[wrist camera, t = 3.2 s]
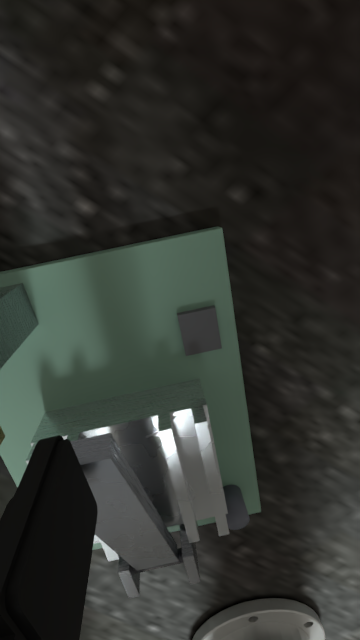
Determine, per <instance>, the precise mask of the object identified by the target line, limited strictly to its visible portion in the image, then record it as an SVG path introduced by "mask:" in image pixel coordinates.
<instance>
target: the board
mask: <svg viewBox="0 0 360 640" xmlns="http://www.w3.org/2000/svg"><path fill="white" fill-rule="evenodd" d="M20 283H23V285H24V287H25V290H26V292H27V295H28V297H29V300H30V303H31V305H32V308H33V310H34V313H35V315H36V318H37V320H38V323H39V324H38V326H37V327H36V328H35V329H34V330H33V331H32V333H31V334H30V335H29V336H28V337H27V338H26V340H25V341H24V342H23V343H22V344H21V346H20V347H19V348H18V349H17V350H16V351H15V353H14V354H13V355H12V356H11V357H10V358H9V360H8V361H7V362H6V363H5V364H4V366H3V367H2V368H1V369H0V426H1V428H2V430H3V432H4V434H5V438H4V440H3V441H2V443H1V445H0V455H1V457H2V459H3V461H4V463H5V465H6V466H7V468H8V470H9V472H10V474H11V476H12V478H13V480H14V482H15V483H16V485H17V487H18V486H19V484H20V481H21V479H22V477H23V474H24V472H25V470H26V467H27V463H26V459H27V457H28V455H29V453H30V451H31V448H32V446H31V444H30V443H31V441H32V439H33V437H34V434H35V432H36V430H37V428H38V426H39V424H40V422H41V420H42V418H43V416H44V413H45V412H47V411H52V410H56V409H61V408H65V407H70V406H75V405H79V404H84V403H88V402H93V401H98V400H102V399H107V398H111V397H116V396H120V395H125V394H130V393H134V392H139V391H143V390H148V389H153V388H157V387H162V386H166V385H171V384H176V383H180V382H185V381H189V380H194V379H198V378H199V379H200V382H201V386H202V389H203V393H204V397H205V400H206V404H207V408H208V414H209V419H210V424H211V429H212V434H213V439H214V444H215V449H216V455H217V460H218V465H219V470H220V475H221V480H222V485H223V490H224V496H225V501H226V506H227V511H228V514H226V519H227V524H228V528H229V529H232V530H237V529H241V528H243V527H245V526H246V525H247V524H248V523H249V520H250V518H249V515H250V514H254V513H258V512H261V505H260V498H259V491H258V484H257V476H256V469H255V462H254V454H253V447H252V440H251V433H250V425H249V418H248V411H247V404H246V396H245V389H244V382H243V375H242V367H241V360H240V353H239V345H238V338H237V331H236V324H235V316H234V309H233V302H232V295H231V287H230V280H229V273H228V266H227V258H226V251H225V244H224V236H223V229H222V228H221V227H219V226H216V227H212V228H207V229H202V230H197V231H193V232H188V233H183V234H178V235H174V236H169V237H164V238H159V239H155V240H150V241H145V242H140V243H136V244H131V245H126V246H121V247H117V248H112V249H107V250H102V251H98V252H93V253H88V254H83V255H79V256H74V257H69V258H64V259H60V260H55V261H50V262H45V263H40V264H36V265H31V266H26V267H21V268H17V269H12V270H7V271H2V272H0V288H1V287H6V286H11V285H15V284H20ZM214 522H216V520H215V517H210V518H206V519H202V520H197V525H198V526H201V525H205V524H210V523H214ZM167 529H168V530H169V532H174V531H179V530H180V526H179V525H175V526H171V527H167ZM99 548H103V547H102V545H101V543H95V544H93V549H92V550H94V549H99Z"/></svg>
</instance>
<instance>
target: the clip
mask: <svg viewBox="0 0 360 640" xmlns="http://www.w3.org/2000/svg"><path fill="white" fill-rule="evenodd" d="M4 438H5V434H4V432H3V430H2V428H1V426H0V445H1V443H2V441H3V440H4Z"/></svg>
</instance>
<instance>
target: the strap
mask: <svg viewBox="0 0 360 640" xmlns="http://www.w3.org/2000/svg"><path fill="white" fill-rule="evenodd" d="M71 444H72V447H73V449H74V451H75V454H76V456H77V458H78V461H79V463H80V465H81V468H82V470H83V472H84V475H85V477H86V479H87V482H88V484H89V486H90V489H91V491H92V493H93V496H94V498H95V500H96V503H97V510H98V514H97V522H96V529H95V535H96V536H97V537H98V538H99V539H101V540H102V541H103V542H104V543H105V544H106V545H108V546H109V547H110V548H111V549H112V550H113V551H115V552H116V553H117V554H118V555H119V556H120V557H122V558H123V559H124V560H125V561H126V562H127V563H129V564H130V565H131V566H132V567H133V568H134V569H136V570H137V571H138V570H142V569H146V568H151V567H155V566H160V565H164V564H168V563H173V562H177V561H179V558H178V550H177V544H176V542H175V541H174V539H173V537H172V536H171V534H170V532H169V530H168V529H167V527H166V525H165V524H164V522H163V520H162V519H161V517H160V515H159V514H158V512H157V510H156V508H155V507H154V505H153V503H152V502H151V500H150V498H149V497H148V495H147V493H146V492H145V490H144V488H143V487H142V485H141V483H140V481H139V480H138V478H137V476H136V475H135V473H134V471H133V470H132V468H131V466H130V465H129V463H128V461H127V460H126V458H125V456H124V454H123V453H122V451H121V449H120V448H119V446H118V444H117V443H116V441H115V439H114V438H113V436H112V434H111V433H107V434H103V435H98V436H93V437H89V438H84V439H80V440H75V441H71ZM33 451H34V450H33ZM33 451H32V453H33Z"/></svg>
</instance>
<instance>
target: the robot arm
mask: <svg viewBox="0 0 360 640" xmlns="http://www.w3.org/2000/svg"><path fill="white" fill-rule="evenodd" d="M97 514H98V510H97V503H96V500H95V498H94V496H93V493H92V491H91V489H90V486H89V484H88V482H87V479H86V477H85V475H84V472H83V470H82V468H81V465H80V463H79V461H78V458H77V456H76V454H75V451H74V449H73V447H72V444H71V442H70V440H69V439H65V440H64V439H63V437H62V436H60V435H58V436H54V437H49V438H45V439H40V440H39V441H38V442H37V444H36V446H35V449H34V451H33V453H32V456H31V458H30V460H29V463H28V465H27V467H26V470H25V472H24V474H23V477H22V479H21V481H20V484H19V486H18V488H17V491H16V493H15V495H14V497H13V498H12V499H11V500H10V501H9V503H8V505H7V506H6V509H5V511H4V513H3V516H2V518H1V520H0V640H79V637H80V630H81V624H82V617H83V610H84V603H85V596H86V590H87V583H88V576H89V569H90V563H91V556H92V549H93V542H94V536H95V529H96V522H97ZM192 640H325V632H324V628H323V626H322V624H321V621H320V619H319V617H318V615H317V614H316V613H315V611H314V610H313V609H311V608H310V607H308V606H307V605H305V604H303V603H300V602H298V601H295V600H290V599H284V598H265V599H256V600H251V601H246V602H243V603H240V604H237V605H234V606H231V607H229V608H227V609H225V610H222V611H220V612H219V613H217V614H216V615H214V616H212V617H211V618H210V619H208V620H207V621H206V622H205V623H204V624H202V626H201V627H200V628H199V629H198V630H197V632H196V633H195V635H194V637H193V639H192Z"/></svg>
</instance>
